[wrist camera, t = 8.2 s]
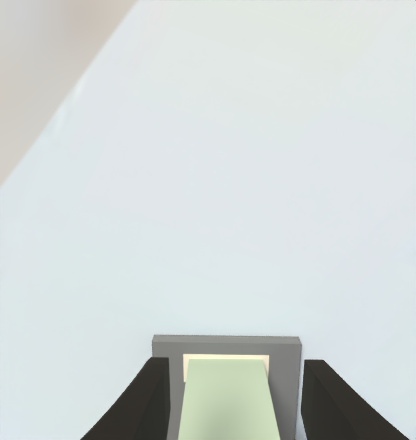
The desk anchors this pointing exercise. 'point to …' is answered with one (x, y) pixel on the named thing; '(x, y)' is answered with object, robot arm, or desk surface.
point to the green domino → (227, 401)
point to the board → (235, 349)
